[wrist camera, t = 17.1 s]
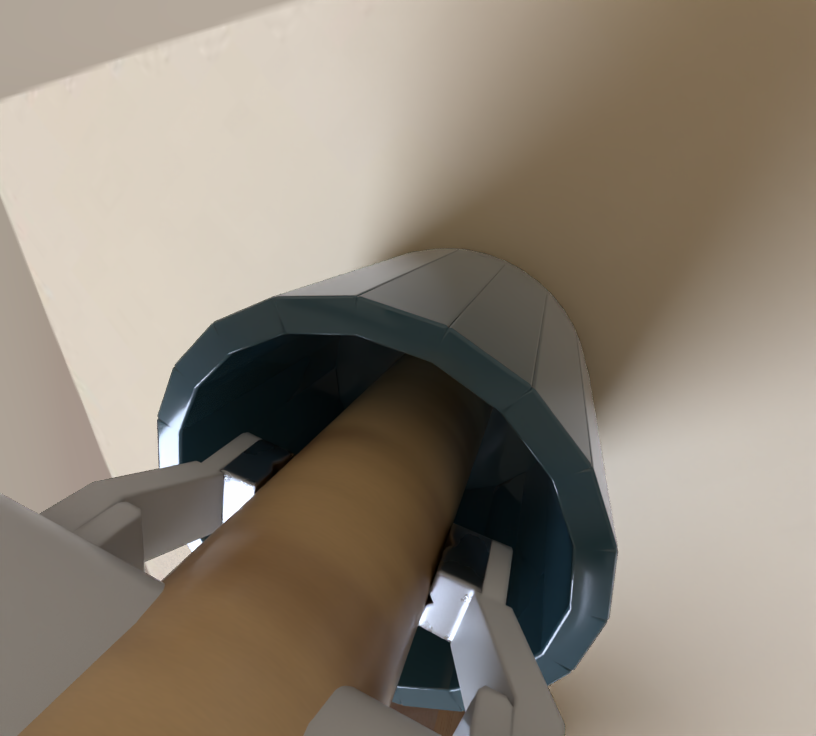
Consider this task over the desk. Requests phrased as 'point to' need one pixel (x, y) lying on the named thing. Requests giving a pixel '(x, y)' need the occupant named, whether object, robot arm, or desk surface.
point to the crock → (474, 369)
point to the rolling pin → (297, 579)
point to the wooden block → (432, 718)
